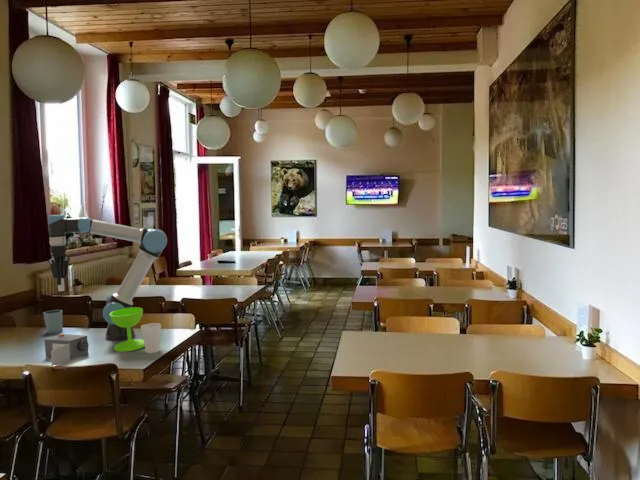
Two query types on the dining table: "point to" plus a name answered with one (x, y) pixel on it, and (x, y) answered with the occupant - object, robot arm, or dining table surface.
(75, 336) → the camera body
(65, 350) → the side door
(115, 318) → the wineglass
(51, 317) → the drinking glass
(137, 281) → the robot arm
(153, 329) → the foam cup
